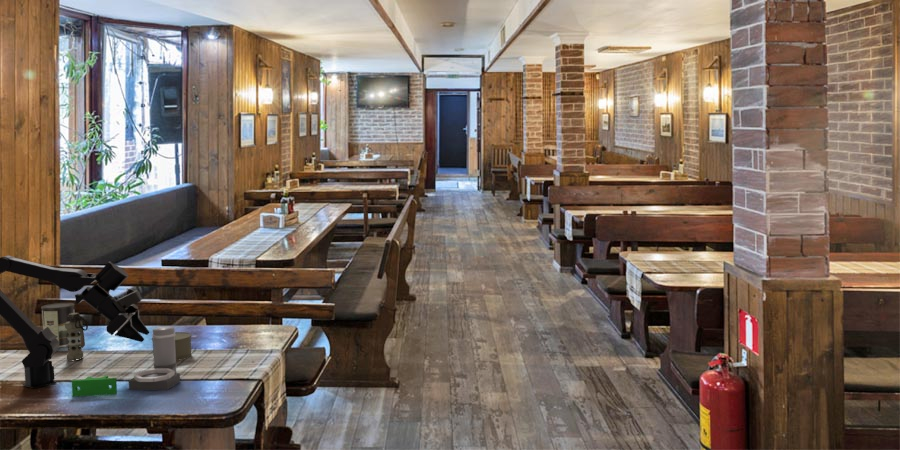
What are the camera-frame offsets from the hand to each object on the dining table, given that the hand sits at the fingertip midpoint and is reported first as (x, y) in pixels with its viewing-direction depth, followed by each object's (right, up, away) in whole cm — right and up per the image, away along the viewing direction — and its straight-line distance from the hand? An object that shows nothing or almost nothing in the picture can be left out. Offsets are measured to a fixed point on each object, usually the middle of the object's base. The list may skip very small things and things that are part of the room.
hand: (145, 337), depth 213 cm
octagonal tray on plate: (+6, -12, -8) cm, 16 cm away
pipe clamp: (-7, -14, -15) cm, 21 cm away
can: (-1, -10, +24) cm, 26 cm away
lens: (+5, -12, +2) cm, 13 cm away
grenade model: (-31, -11, +22) cm, 40 cm away
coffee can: (-48, -9, +42) cm, 64 cm away
